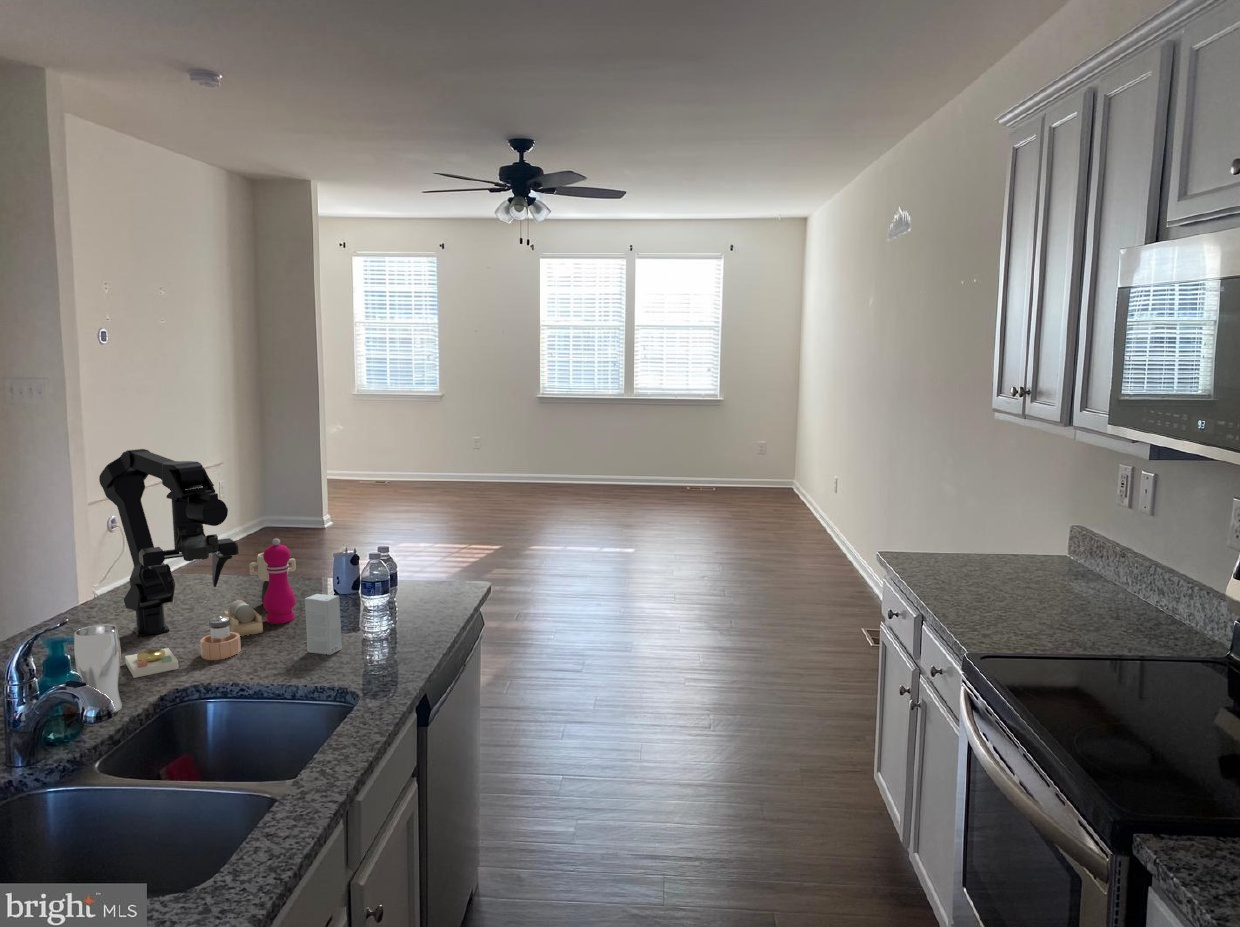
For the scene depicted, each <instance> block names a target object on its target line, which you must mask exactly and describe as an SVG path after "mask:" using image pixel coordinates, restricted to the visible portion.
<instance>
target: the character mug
mask: <svg viewBox="0 0 1240 927" xmlns="http://www.w3.org/2000/svg"><path fill="white" fill-rule="evenodd" d="M263 555H264V552H261V553H258V554H257V557H256V560H257V561H255V562H250V563H249V565H248V567H249V574H250V576H257V577H258V578H259V579H260V581H264V582H263V583H262V589H261V603H263V601H264V596H265V593H266V591H267V588H268V585H269V573H268V572H267V571H266V570H267V568H266V566H267V565H268V564H267V563H266V562H265V561H264V558H263ZM289 563H291V567H288V568H289V570H288V571H287V576H288V574H289V572H295V571H296V569H297V568H296V567H297V565H296V559H295V558H290V559H289V561H288V562H287V564H289ZM255 567H257V571H255Z"/></svg>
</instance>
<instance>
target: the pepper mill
mask: <svg viewBox="0 0 1240 927" xmlns="http://www.w3.org/2000/svg"><path fill="white" fill-rule="evenodd" d="M271 542H272V543H271V544H272V545H270V546H268V547H266V549H265V550H264V552H263V553H264V555H263V558H264V561H265V562H266V563H267V564H268V565H267V566H266V568H267V570H266V571H267V572H268V573H269V585H268V588H267V591H266V593H265V596H264V601H263V602H262V603H263V608H264V609H265V610H266V611H267V613H266V615H265V617H266V623H268V624H273V625H274V624H275V625H276V624H277V625H278V624H280V625H281V624H285V623H289V622H292V621H294V619H295V611H294V610H293V608H294V607H295V606H296V596H295V593H294V591H293V588H292V586H291V585H290V582H289V578H288V575H287V571H288V570H289V568H290V567H289V566H290V564H289V563H288V564H287V562H288V561H289V559H291V551H290V548H288V547H287V545H284V544H281V540H280V539H279V538H274V539H272V541H271Z"/></svg>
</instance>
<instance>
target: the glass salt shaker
mask: <svg viewBox="0 0 1240 927" xmlns="http://www.w3.org/2000/svg"><path fill="white" fill-rule="evenodd" d="M208 623H209V632H210V634H209V635H210V638H211V643H220V642H225V641H229V640H230V621H229V617H224V616H221V615H219V616H218V615H217V616H216V617H212V618H210V619H209V622H208Z"/></svg>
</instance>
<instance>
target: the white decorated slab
mask: <svg viewBox="0 0 1240 927" xmlns="http://www.w3.org/2000/svg"><path fill="white" fill-rule="evenodd" d="M160 649H161V650H164V651H165V656H164V657H161V659H158V660H155V661H149V662H147V661H146V660H144V661H138V660H137V655H138V654H139V653H135V654H129V655H125V657H124V658H125V660H124V661H125V664H126V667H127V668H128V670H129V672H130V674H131V675H132V678H134V679H135V678H140V677H145V676H151V675H155V674H159V673H164V672H165V673H166V672H169V671H174V670H178V669H179V668H180V667H179V661H178V659H177V658H176V656H175V655H174V653H173V652H172V651H171V650H170V648H169V647H165V648H160Z"/></svg>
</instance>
